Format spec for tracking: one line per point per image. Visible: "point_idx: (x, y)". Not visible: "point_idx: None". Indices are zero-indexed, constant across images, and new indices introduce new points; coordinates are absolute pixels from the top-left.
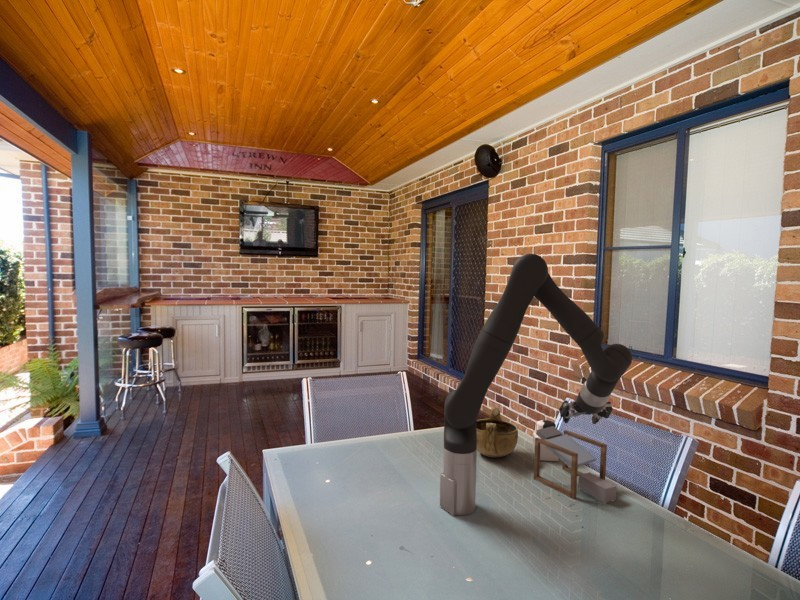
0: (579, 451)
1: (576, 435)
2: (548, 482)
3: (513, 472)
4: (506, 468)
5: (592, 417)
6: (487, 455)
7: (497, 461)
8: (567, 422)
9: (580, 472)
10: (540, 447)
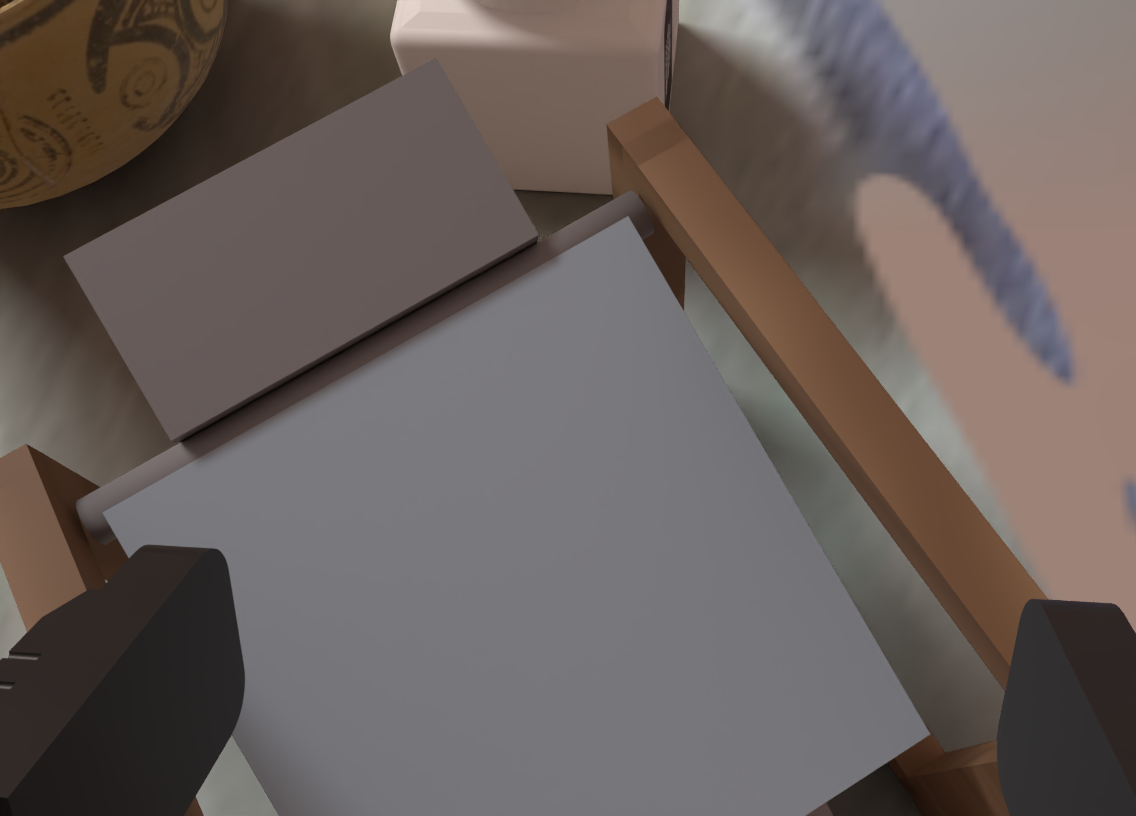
0: (693, 637)
1: (747, 316)
2: None
3: (93, 464)
4: (63, 378)
5: (1055, 672)
6: None
7: (44, 230)
8: (204, 760)
9: None
10: None
